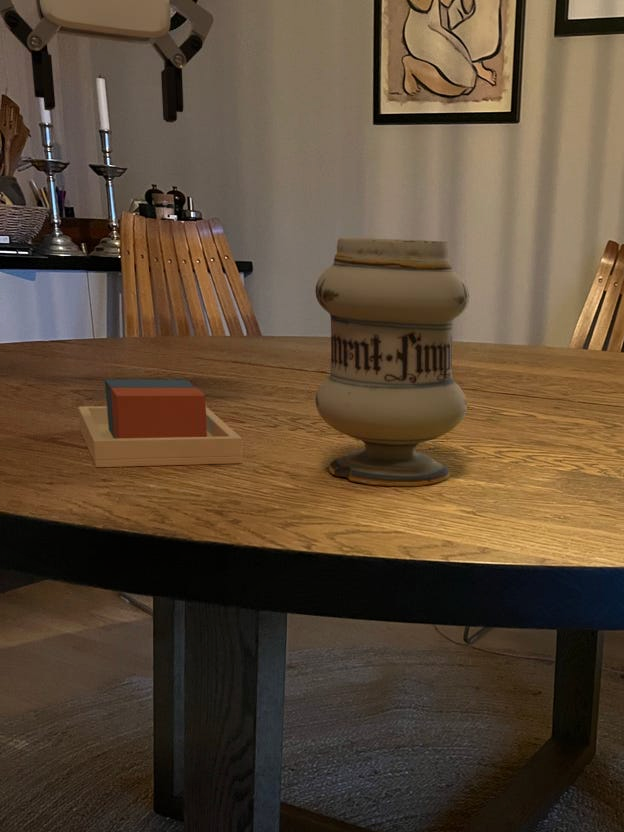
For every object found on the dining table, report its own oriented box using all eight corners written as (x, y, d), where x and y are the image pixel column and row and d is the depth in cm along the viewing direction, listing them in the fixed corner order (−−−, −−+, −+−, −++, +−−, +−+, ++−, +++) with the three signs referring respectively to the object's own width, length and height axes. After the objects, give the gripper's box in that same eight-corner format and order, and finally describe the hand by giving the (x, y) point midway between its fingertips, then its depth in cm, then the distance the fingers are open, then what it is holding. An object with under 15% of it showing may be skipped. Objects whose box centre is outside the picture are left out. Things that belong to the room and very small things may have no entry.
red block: (120, 450, 84) (116, 395, 82) (114, 439, 88) (110, 387, 86) (207, 448, 87) (205, 395, 85) (198, 438, 91) (196, 387, 89)
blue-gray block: (113, 439, 88) (110, 386, 87) (108, 429, 92) (104, 379, 90) (197, 437, 91) (195, 386, 89) (188, 428, 95) (186, 379, 93)
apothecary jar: (284, 468, 84) (281, 231, 77) (390, 452, 92) (396, 238, 86) (388, 497, 77) (395, 238, 70) (492, 477, 85) (507, 245, 79)
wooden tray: (79, 429, 94) (77, 406, 94) (206, 427, 99) (205, 405, 98) (95, 467, 80) (93, 440, 80) (242, 463, 85) (241, 437, 84)
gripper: (200, -96, 87) (207, 128, 93) (-26, -137, 80) (-2, 108, 87) (216, -120, 81) (223, 122, 87) (-28, -167, 74) (-1, 99, 80)
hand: (111, 115), depth 87 cm, fingers open, 9 cm apart
